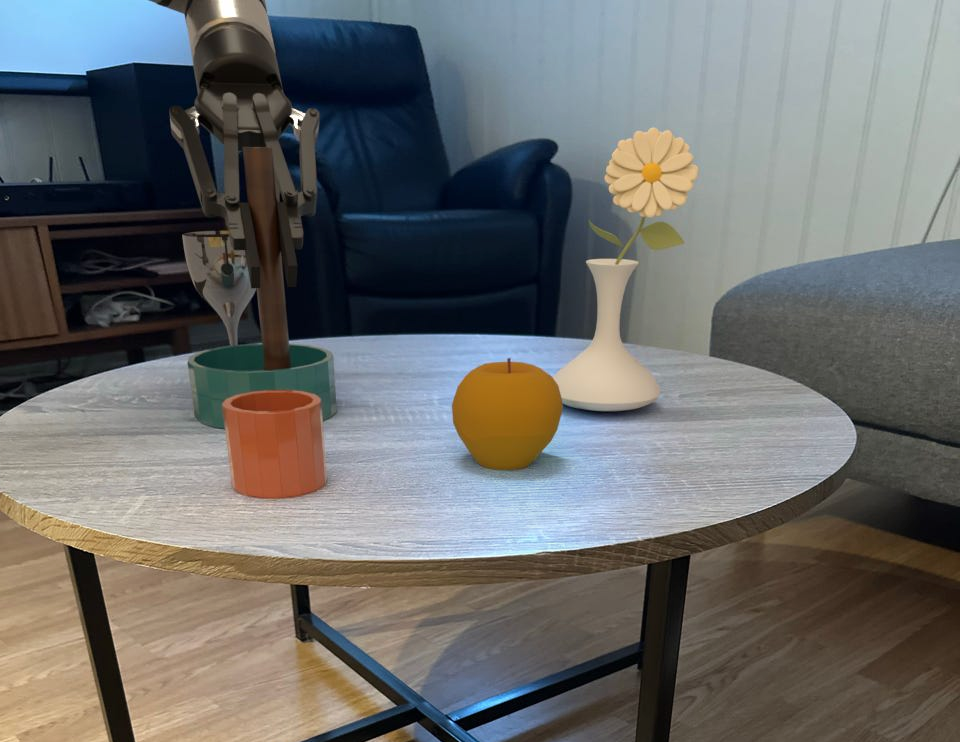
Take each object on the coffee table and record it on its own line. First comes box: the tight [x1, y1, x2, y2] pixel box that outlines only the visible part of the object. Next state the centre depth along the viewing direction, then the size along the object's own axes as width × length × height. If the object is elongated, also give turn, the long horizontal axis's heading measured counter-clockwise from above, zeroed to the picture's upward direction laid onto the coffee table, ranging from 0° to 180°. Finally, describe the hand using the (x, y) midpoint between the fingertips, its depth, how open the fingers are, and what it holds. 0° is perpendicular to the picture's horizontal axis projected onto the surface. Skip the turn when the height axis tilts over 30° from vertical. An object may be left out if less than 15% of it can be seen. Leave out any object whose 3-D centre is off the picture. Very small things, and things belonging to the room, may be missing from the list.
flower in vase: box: [552, 127, 699, 412], centre depth 89 cm, size 13×11×25 cm
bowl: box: [187, 343, 338, 430], centre depth 89 cm, size 13×13×6 cm
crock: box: [222, 390, 328, 500], centre depth 70 cm, size 7×7×7 cm
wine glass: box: [181, 230, 257, 346], centre depth 103 cm, size 8×8×15 cm
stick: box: [242, 147, 291, 370], centre depth 83 cm, size 3×2×21 cm
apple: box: [451, 357, 564, 471], centre depth 75 cm, size 9×9×9 cm
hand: (274, 276), depth 79 cm, fingers closed on stick, 2 cm apart
